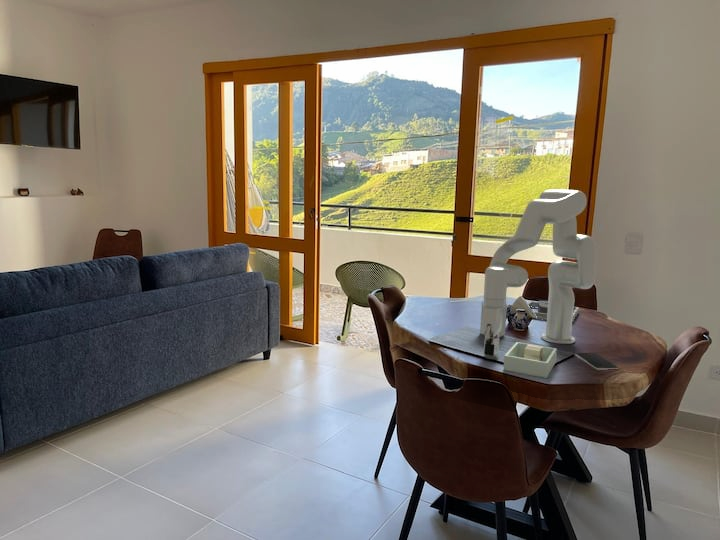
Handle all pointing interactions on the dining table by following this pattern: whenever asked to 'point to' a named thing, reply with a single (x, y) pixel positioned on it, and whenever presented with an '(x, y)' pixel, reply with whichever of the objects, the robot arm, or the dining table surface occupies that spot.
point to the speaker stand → (544, 316)
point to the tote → (529, 361)
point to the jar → (502, 320)
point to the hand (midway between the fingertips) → (491, 352)
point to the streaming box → (542, 307)
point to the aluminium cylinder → (496, 348)
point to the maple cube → (533, 352)
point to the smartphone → (596, 361)
